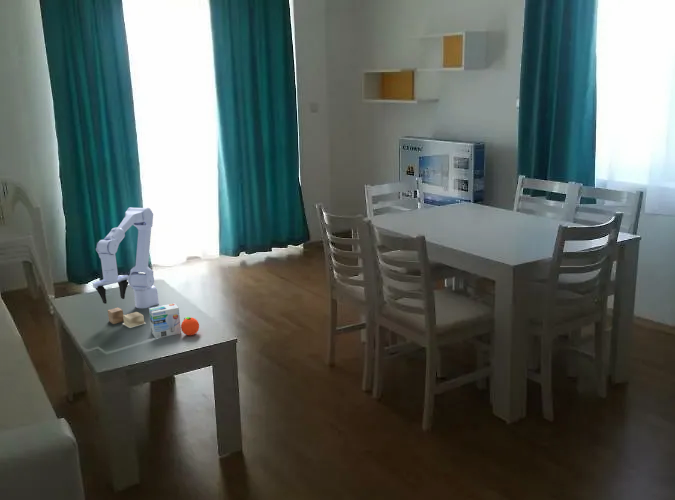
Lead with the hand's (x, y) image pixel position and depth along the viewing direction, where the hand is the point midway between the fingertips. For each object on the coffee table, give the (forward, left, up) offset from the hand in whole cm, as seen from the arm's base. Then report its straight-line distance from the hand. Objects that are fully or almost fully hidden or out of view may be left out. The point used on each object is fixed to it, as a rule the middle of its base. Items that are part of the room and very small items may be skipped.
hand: (113, 300), depth 270 cm
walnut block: (0, 0, -9) cm, 9 cm away
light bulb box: (-9, +26, -10) cm, 29 cm away
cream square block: (-4, +8, -9) cm, 13 cm away
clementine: (-15, +34, -10) cm, 39 cm away
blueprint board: (-2, +5, -10) cm, 11 cm away
